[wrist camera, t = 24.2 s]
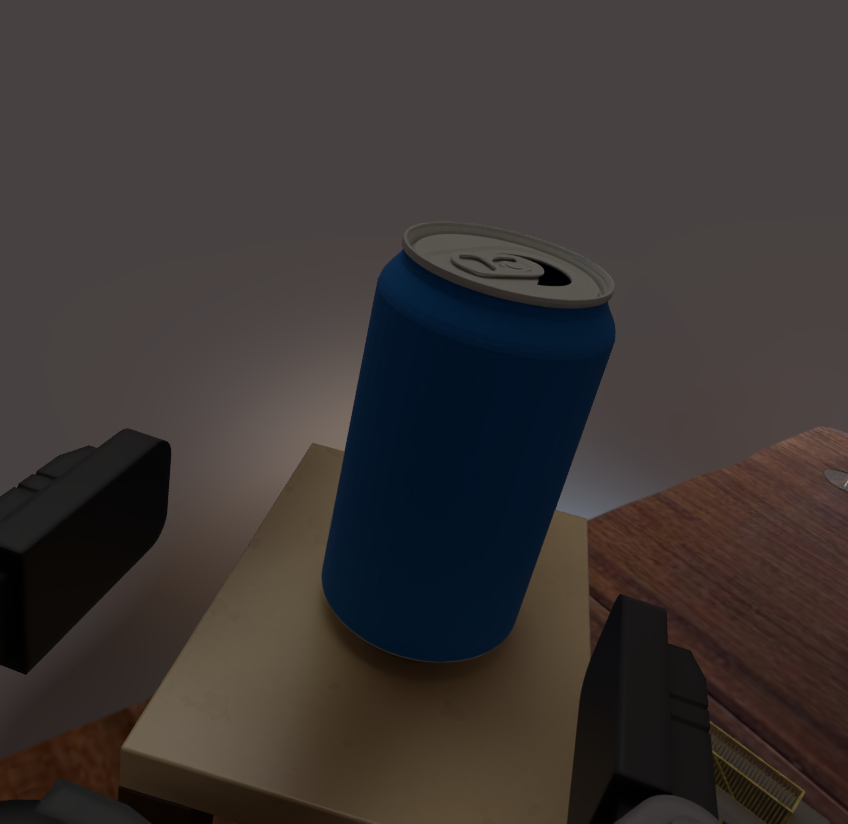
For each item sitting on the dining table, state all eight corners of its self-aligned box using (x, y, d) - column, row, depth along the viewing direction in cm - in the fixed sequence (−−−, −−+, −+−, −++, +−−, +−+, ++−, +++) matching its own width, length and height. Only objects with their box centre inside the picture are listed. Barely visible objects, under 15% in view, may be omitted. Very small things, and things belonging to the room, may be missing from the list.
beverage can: (549, 654, 25) (684, 308, 20) (367, 704, 22) (468, 306, 16) (451, 530, 30) (537, 223, 24) (289, 556, 27) (347, 209, 21)
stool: (104, 1089, 28) (119, 747, 19) (263, 728, 42) (312, 441, 33) (434, 1198, 27) (597, 893, 19) (483, 793, 41) (587, 518, 33)
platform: (820, 1089, 32) (898, 1007, 29) (488, 779, 42) (521, 693, 39) (892, 897, 41) (958, 818, 38) (603, 676, 50) (637, 599, 47)
